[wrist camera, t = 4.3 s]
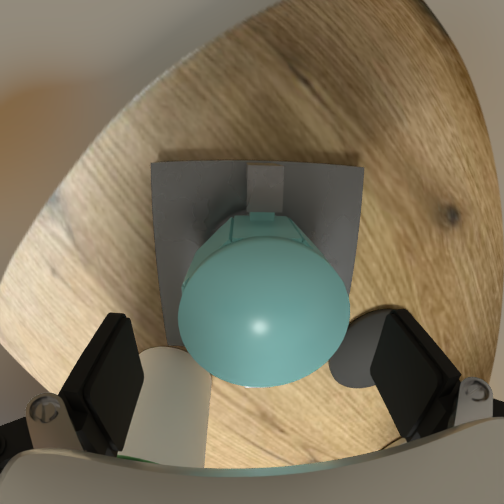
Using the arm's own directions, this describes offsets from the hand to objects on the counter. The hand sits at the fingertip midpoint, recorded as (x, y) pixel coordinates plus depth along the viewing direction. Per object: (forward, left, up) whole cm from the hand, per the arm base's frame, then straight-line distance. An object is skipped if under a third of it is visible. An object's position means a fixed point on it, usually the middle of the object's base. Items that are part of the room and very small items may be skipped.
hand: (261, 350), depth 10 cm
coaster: (-11, +9, -10) cm, 17 cm away
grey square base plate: (0, 0, -10) cm, 10 cm away
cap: (0, 0, -7) cm, 7 cm away
